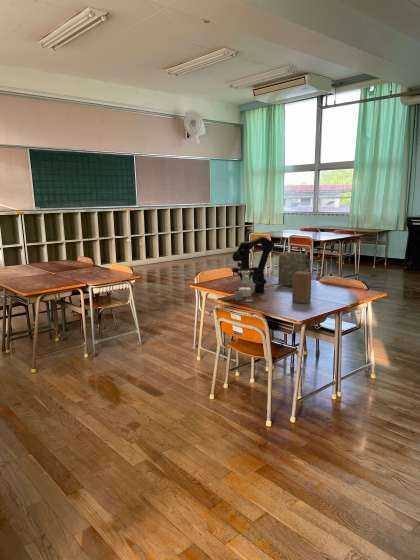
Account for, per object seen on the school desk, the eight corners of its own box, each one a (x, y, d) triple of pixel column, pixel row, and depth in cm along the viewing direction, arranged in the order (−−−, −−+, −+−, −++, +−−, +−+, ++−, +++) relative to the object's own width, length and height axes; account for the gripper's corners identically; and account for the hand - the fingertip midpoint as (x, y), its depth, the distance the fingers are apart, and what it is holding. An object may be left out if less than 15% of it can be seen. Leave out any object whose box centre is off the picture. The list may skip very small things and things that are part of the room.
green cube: (247, 282, 301) (247, 275, 300) (249, 283, 296) (249, 276, 295) (241, 282, 300) (241, 275, 299) (242, 283, 296) (242, 276, 295)
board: (253, 299, 286) (253, 299, 286) (255, 301, 280) (256, 301, 280) (242, 300, 285) (242, 299, 285) (244, 302, 279) (244, 301, 279)
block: (306, 304, 272) (307, 274, 268) (291, 302, 277) (292, 273, 273) (310, 301, 281) (312, 272, 277) (296, 299, 286) (297, 270, 282)
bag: (310, 285, 330) (312, 251, 325) (303, 289, 317) (304, 253, 312) (284, 282, 343) (285, 249, 337) (276, 286, 330) (277, 251, 324)
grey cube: (241, 298, 291) (241, 291, 290) (242, 299, 286) (242, 292, 285) (234, 298, 291) (234, 291, 290) (235, 300, 286) (235, 293, 285)
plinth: (250, 294, 304) (250, 287, 303) (251, 296, 296) (251, 289, 295) (239, 294, 304) (239, 287, 303) (239, 296, 296) (239, 289, 295)
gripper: (255, 258, 304) (255, 278, 307) (230, 258, 302) (230, 279, 305) (259, 260, 293) (258, 281, 296) (233, 261, 291) (233, 282, 294)
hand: (245, 281), depth 298 cm, fingers closed on green cube, 5 cm apart
